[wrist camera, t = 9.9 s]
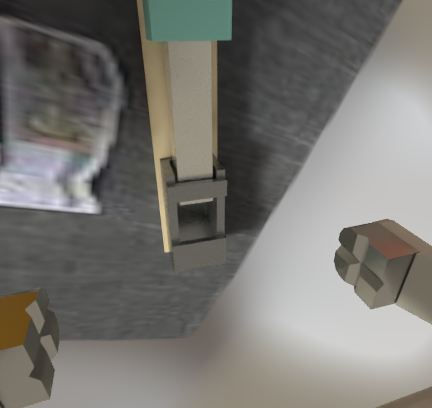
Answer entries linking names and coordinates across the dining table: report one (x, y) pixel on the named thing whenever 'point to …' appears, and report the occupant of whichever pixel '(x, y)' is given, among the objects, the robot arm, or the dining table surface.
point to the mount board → (166, 105)
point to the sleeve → (195, 218)
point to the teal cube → (188, 20)
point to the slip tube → (189, 110)
